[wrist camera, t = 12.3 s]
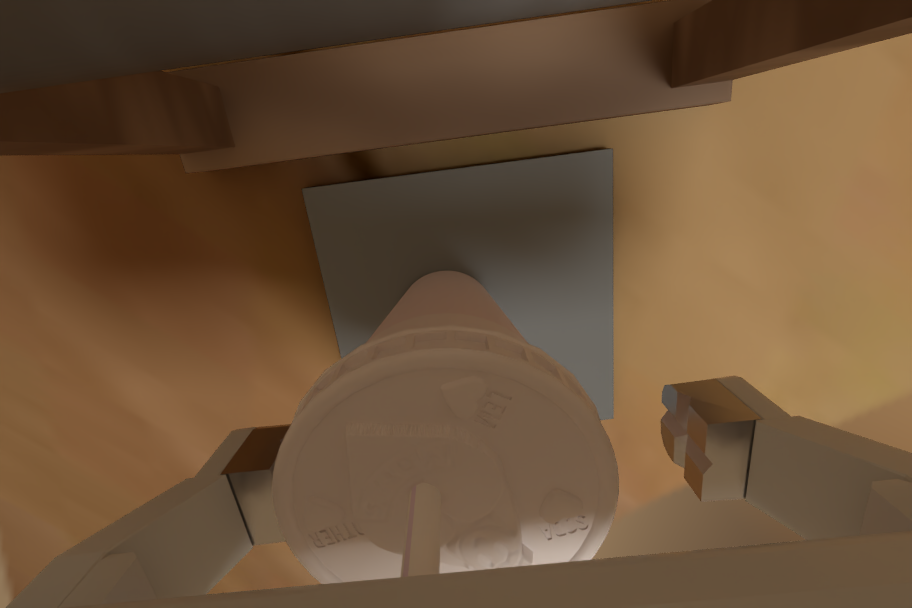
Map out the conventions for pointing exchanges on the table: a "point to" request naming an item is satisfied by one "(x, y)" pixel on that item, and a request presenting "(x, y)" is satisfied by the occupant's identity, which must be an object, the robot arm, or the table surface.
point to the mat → (482, 251)
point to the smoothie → (443, 449)
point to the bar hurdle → (381, 69)
